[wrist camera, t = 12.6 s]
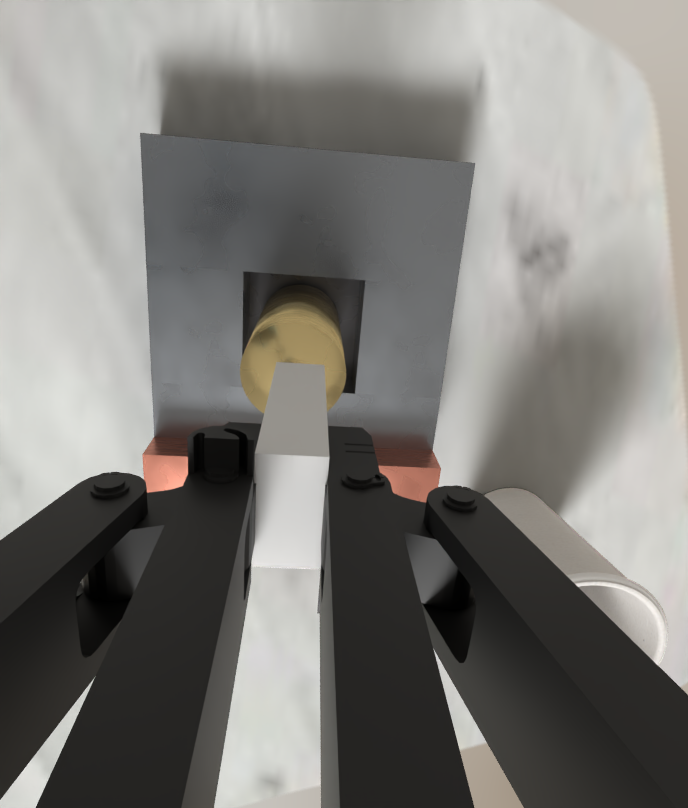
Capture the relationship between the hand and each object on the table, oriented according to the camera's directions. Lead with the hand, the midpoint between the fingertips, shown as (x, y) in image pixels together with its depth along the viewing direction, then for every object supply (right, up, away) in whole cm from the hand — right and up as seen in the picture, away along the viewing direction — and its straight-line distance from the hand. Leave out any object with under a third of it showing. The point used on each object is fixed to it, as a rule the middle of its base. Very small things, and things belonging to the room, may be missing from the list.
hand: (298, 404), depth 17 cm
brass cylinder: (-1, +4, +11) cm, 12 cm away
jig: (-1, +4, +11) cm, 12 cm away
